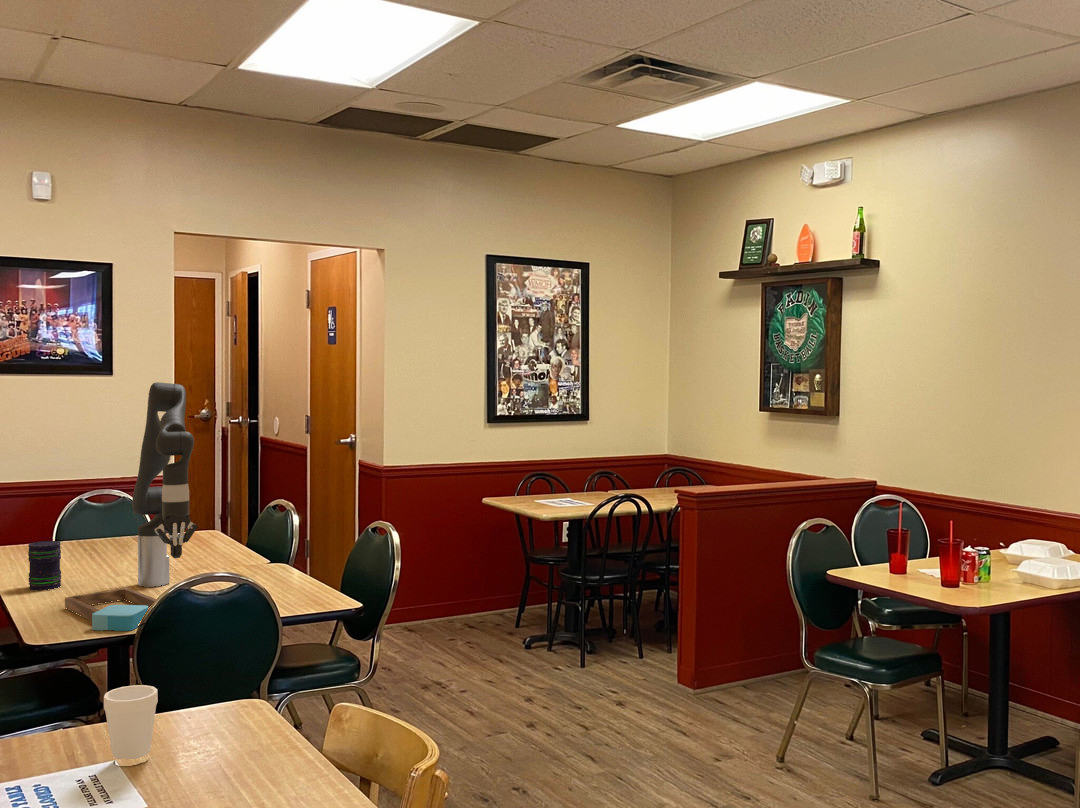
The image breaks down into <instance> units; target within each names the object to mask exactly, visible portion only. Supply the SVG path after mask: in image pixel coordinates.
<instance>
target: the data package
mask: <svg viewBox="0 0 1080 808" xmlns="http://www.w3.org/2000/svg"><path fill="white" fill-rule="evenodd" d="M98 610H99V611H97V612H95V613H93V614H92V622H91V624H92V625H91V630H93V631H103V630H114V631H115V632H131V631H134V630H136V629H137V628H138V627H137V626H138V624H139V623H140V621H141V620H142V618H143V616H144V615H145V613H146V612H147V610H148V606H146V605H135V604H109V605H107V606H106V607H104V608H102V609H98Z"/></svg>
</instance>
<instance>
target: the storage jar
mask: <svg viewBox="0 0 1080 808" xmlns="http://www.w3.org/2000/svg"><path fill="white" fill-rule="evenodd" d="M61 549H62V547H61V541H57V540H43V541H34V542H30V543H28V552H27V553H28V554H27V557H28V558H27V559H28V562H29V571H28V582H29V583H28V585H29V587H28V589H30V590H29V591H32V590H47V591H49V590H48V589H54V588H58V587H60V586H61V587H62V583H61V582H62V570H61V557H62V550H61ZM61 587H60V588H61ZM58 589H59V588H58ZM54 590H55V589H54Z"/></svg>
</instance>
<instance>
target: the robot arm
mask: <svg viewBox="0 0 1080 808" xmlns="http://www.w3.org/2000/svg"><path fill="white" fill-rule="evenodd" d="M186 406H187V391H186V388H185V386H183V385H182V384H179V383H178V384H177V383H170V382H169V383H167V382H153V383H152V384H151V385H150V387H149V391H148V399H147V411H146V419H145V420H146V421H145V422H146V423H145V428H144V432H143V433H144V434H143V437H142V438H143V440H142V443H141V451H140V457H139V459H140V460H139V467H138V468H139V469H138V473H137V479H136V481H135V482H136V483H135V486H134V488H133V489H134V490H133V494H132V502H131V507H132V511H133V513H134V514H135V515H137V516H151V515H154V517H153V518H152V519H150V520H149V521H148V522H145V523H143V524H141V525H139V526H138V527H137V586H138V585H139V587H141V586H144V587H143V588H153V587H154V586H156V587H161V585H162V586H165V585H169V584H170V582H171V581H170V580H171V579H170V556H171V557H172V558H173V559H180V558H181V556H182V555H183V544H184V543H188V542H189V541H190V539H192V536H193V535H194V533H196V532H195V531H196V530H197V529H198V528H199V527H198V524H196V523H194V522H192V521H191V517H190V487H189V465H190V459H191V457H192V453H193V449H194V445H195V438H194V435H193V434H192V433H191V432H189V431H187V429H186V424H185V423H186V421H185V417H186ZM159 412H162V413H163V412H164V414H162V416H161V418H160V417H159V414H158V413H159ZM172 456H173V457H175V456H181V457H180V459H179V460H178V461H175V462H172V463H170V460H171V457H172ZM161 472H162V486H152V487H151V486H150V485H151V484H152V482H153V481H154V480H155V479H156V478H157V476H159V475H160V473H161ZM168 545H169V546H170V556H169V555H168ZM168 583H169V584H168ZM154 588H155V587H154Z"/></svg>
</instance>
